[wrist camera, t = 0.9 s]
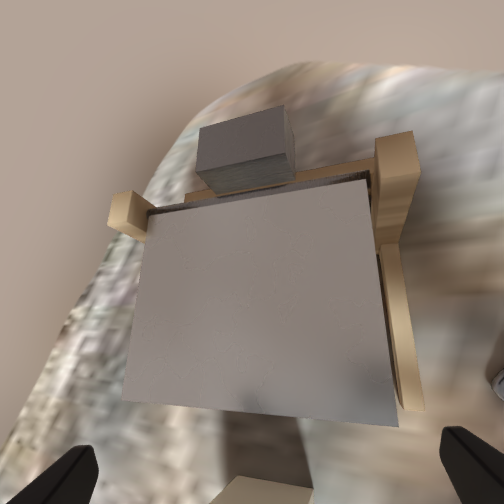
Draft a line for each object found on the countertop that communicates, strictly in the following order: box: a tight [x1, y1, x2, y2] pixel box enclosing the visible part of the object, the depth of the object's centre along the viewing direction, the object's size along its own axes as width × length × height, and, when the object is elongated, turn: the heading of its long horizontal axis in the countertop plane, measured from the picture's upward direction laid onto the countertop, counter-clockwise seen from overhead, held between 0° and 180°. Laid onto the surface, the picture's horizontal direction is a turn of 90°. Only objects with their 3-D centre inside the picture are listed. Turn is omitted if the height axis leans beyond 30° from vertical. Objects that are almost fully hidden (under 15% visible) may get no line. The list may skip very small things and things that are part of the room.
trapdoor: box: [121, 105, 399, 427], centre depth 14 cm, size 14×12×2 cm
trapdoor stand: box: [107, 131, 425, 411], centre depth 17 cm, size 16×16×10 cm
